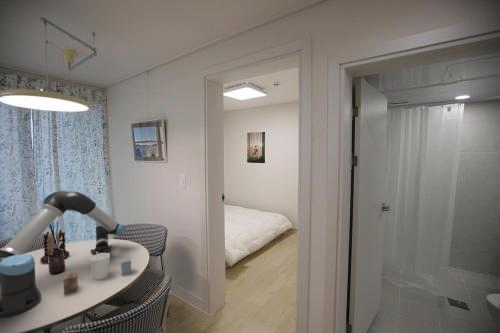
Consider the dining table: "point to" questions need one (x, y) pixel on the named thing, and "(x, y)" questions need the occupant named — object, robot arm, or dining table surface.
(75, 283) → the walnut block
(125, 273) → the slate-blue block
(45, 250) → the brown dark-edged pieces
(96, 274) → the candle holder
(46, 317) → the dining table surface
